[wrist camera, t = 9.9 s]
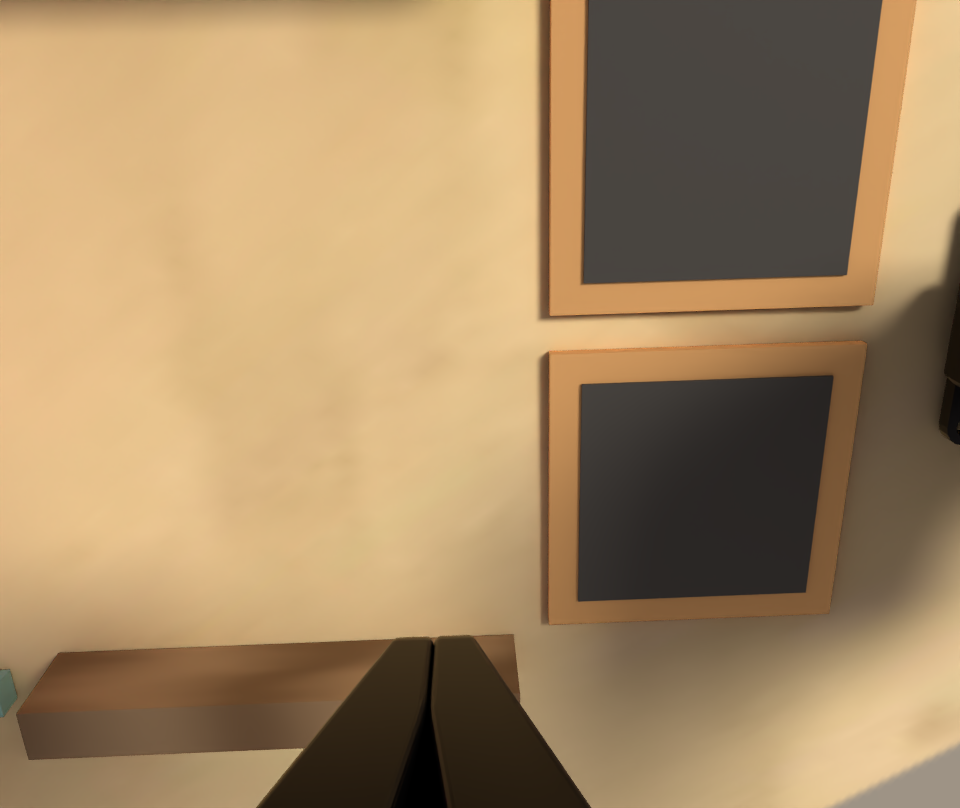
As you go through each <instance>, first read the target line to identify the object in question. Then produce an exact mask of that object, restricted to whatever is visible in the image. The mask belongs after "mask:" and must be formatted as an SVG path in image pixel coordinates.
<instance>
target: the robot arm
mask: <svg viewBox="0 0 960 808" xmlns="http://www.w3.org/2000/svg"><path fill="white" fill-rule="evenodd" d="M944 373H945V375H946V376H947V380H946V386H945V392H944V397H943V403H942V408H941V414H940V419H939V430H940V431H941V433H942V435H944V436H945V437H946V438H948V439H949V440H951V441H952V442H954V443H955V444H958V445H960V430H957V426H958V424H959V422H960V286H959V291H958V297H957V303H956V308H955V314H954V319H953V325H952V331H951V336H950V342H949V347H948V353H947V359H946V364H945V370H944ZM256 808H591V807H590V805H589V804H588V802H587V801H586V799H585V798H584V797H583V795H582V794H581V792H580V791H579V789H578V788H577V786H576V785H575V783H574V782H573V781H572V779H571V778H570V776H569V775H568V773H567V772H566V770H565V769H564V767H563V766H562V764H561V763H560V762H559V760H558V759H557V757H556V756H555V754H554V753H553V751H552V750H551V748H550V747H549V746H548V744H547V743H546V741H545V740H544V738H543V737H542V735H541V734H540V732H539V731H538V729H537V728H536V727H535V725H534V724H533V722H532V721H531V719H530V718H529V716H528V715H527V713H526V712H525V711H524V709H523V708H522V706H521V705H520V703H519V702H518V700H517V699H516V697H515V696H514V695H513V693H512V692H511V690H510V689H509V687H508V686H507V684H506V683H505V681H504V680H503V678H502V677H501V676H500V674H499V673H498V671H497V670H496V668H495V667H494V665H493V664H492V662H491V661H490V660H489V658H488V657H487V655H486V654H485V652H484V651H483V649H482V648H481V646H480V645H479V644H478V642H477V641H476V639H475V638H474V637H472V636H470V635H460V636H440V637H438V638H436V640H435V641H434V643H433V640H432V639H431V638H429V637H404V638H396V639H394V640H393V641H392V642H391V643H390V644H389V645H388V647H387V648H386V649H385V650H384V651H383V653H382V654H381V655H380V656H379V658H378V659H377V660H376V661H375V663H374V664H373V665H372V666H371V667H370V669H369V670H368V671H367V672H366V674H365V675H364V676H363V677H362V678H361V680H360V681H359V682H358V683H357V685H356V686H355V687H354V688H353V690H352V691H351V692H350V693H349V694H348V696H347V697H346V698H345V699H344V701H343V702H342V703H341V704H340V705H339V707H338V708H337V709H336V710H335V712H334V713H333V714H332V715H331V716H330V718H329V719H328V720H327V721H326V723H325V724H324V725H323V726H322V728H321V729H320V730H319V731H318V732H317V734H316V735H315V736H314V737H313V739H312V740H311V741H310V742H309V743H308V745H307V746H306V747H305V748H304V750H303V751H302V752H301V753H300V755H299V756H298V757H297V758H296V759H295V761H294V762H293V763H292V764H291V766H290V767H289V768H288V769H287V770H286V772H285V773H284V774H283V775H282V777H281V778H280V779H279V780H278V781H277V783H276V784H275V785H274V786H273V788H272V789H271V790H270V791H269V793H268V794H267V795H266V796H265V797H264V799H263V800H262V801H261V802H260V804H259V805H258V806H257V807H256Z"/></svg>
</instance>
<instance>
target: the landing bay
mask: <svg viewBox="0 0 960 808" xmlns="http://www.w3.org/2000/svg"><path fill="white" fill-rule="evenodd" d="M16 699H17V694H16V691H15V687H14V683H13V680H12V676H11V672H10V670H0V717H4V716H5V714H6V713H7V712H8V710H9V709H10V707H11V706H12V705H13V703H14V702H15V701H16Z"/></svg>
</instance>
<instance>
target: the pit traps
mask: <svg viewBox="0 0 960 808" xmlns="http://www.w3.org/2000/svg"><path fill="white" fill-rule="evenodd" d="M916 1H917V0H550V118H549V314H550V316H559V315H589V314H619V313H650V312H680V311H710V310H740V309H770V308H800V307H831V306H861V305H873V302H874V295H875V288H876V281H877V274H878V267H879V260H880V253H881V246H882V239H883V232H884V225H885V218H886V211H887V204H888V197H889V190H890V183H891V176H892V169H893V162H894V155H895V148H896V141H897V134H898V127H899V120H900V113H901V106H902V99H903V92H904V85H905V78H906V71H907V64H908V57H909V50H910V43H911V36H912V29H913V22H914V15H915V8H916ZM866 351H867V343H865V342H864V341H836V342H807V343H777V344H748V345H718V346H689V347H659V348H630V349H600V350H571V351H549V459H548V621H549V625H557V624H582V623H607V622H632V621H657V620H682V619H707V618H732V617H757V616H782V615H806V614H829V611H830V604H831V597H832V590H833V583H834V576H835V569H836V562H837V555H838V548H839V541H840V534H841V527H842V520H843V513H844V506H845V499H846V492H847V485H848V478H849V471H850V464H851V457H852V450H853V443H854V436H855V429H856V422H857V415H858V408H859V401H860V394H861V387H862V379H863V372H864V365H865V358H866Z"/></svg>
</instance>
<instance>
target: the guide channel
mask: <svg viewBox="0 0 960 808" xmlns="http://www.w3.org/2000/svg"><path fill="white" fill-rule="evenodd" d="M472 637H474V638H475V639H476V641H477V642H478V644H479V645H480V646H481V648H482V649H483V651H484V652H485V654H486V655H487V657H488V658H489V660H490V661H491V662H492V664H493V665H494V667H495V668H496V670H497V671H498V673H499V674H500V676H501V677H502V678H503V680H504V681H505V683H506V684H507V686H508V687H509V689H510V690H511V692H512V693H513V695H514V696H515V697H516V699H517V700H518V702H519V703H520V690H519V681H518V672H517V663H516V654H515V644H514V635H491V636H472ZM431 639H432V640H433V643H434V641H435V640H436V638H431ZM393 640H394V639H392V640H367V641H342V642H318V643H293V644H268V645H243V646H218V647H194V648H169V649H144V650H119V651H94V652H70V653H58V655H57V656H56V658H55V659H54V661H53V662H52V663H51V665H50V666H49V668H48V669H47V671H46V672H45V673H44V675H43V676H42V678H41V679H40V681H39V682H38V683H37V685H36V686H35V688H34V689H33V691H32V692H31V693H30V695H29V696H28V698H27V699H26V701H25V702H24V703H23V705H22V706H21V708H20V709H19V711H18V712H17V713H16V716H17V719H18V723H19V726H20V730H21V734H22V737H23V741H24V745H25V748H26V752H27V756H28V759H29V760H36V759H59V758H83V757H106V756H130V755H153V754H177V753H200V752H223V751H247V750H270V749H294V748H305V747H306V746H307V745H308V743H309V742H310V741H311V740H312V739H313V737H314V736H315V735H316V734H317V732H318V731H319V730H320V729H321V728H322V726H323V725H324V724H325V723H326V721H327V720H328V719H329V718H330V716H331V715H332V714H333V713H334V712H335V710H336V709H337V708H338V707H339V705H340V704H341V703H342V702H343V701H344V699H345V698H346V697H347V696H348V694H349V693H350V692H351V691H352V690H353V688H354V687H355V686H356V685H357V683H358V682H359V681H360V680H361V678H362V677H363V676H364V675H365V674H366V672H367V671H368V670H369V669H370V667H371V666H372V665H373V664H374V663H375V661H376V660H377V659H378V658H379V656H380V655H381V654H382V653H383V651H384V650H385V649H386V648H387V647H388V645H389V644H390V643H391V642H392V641H393Z"/></svg>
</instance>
